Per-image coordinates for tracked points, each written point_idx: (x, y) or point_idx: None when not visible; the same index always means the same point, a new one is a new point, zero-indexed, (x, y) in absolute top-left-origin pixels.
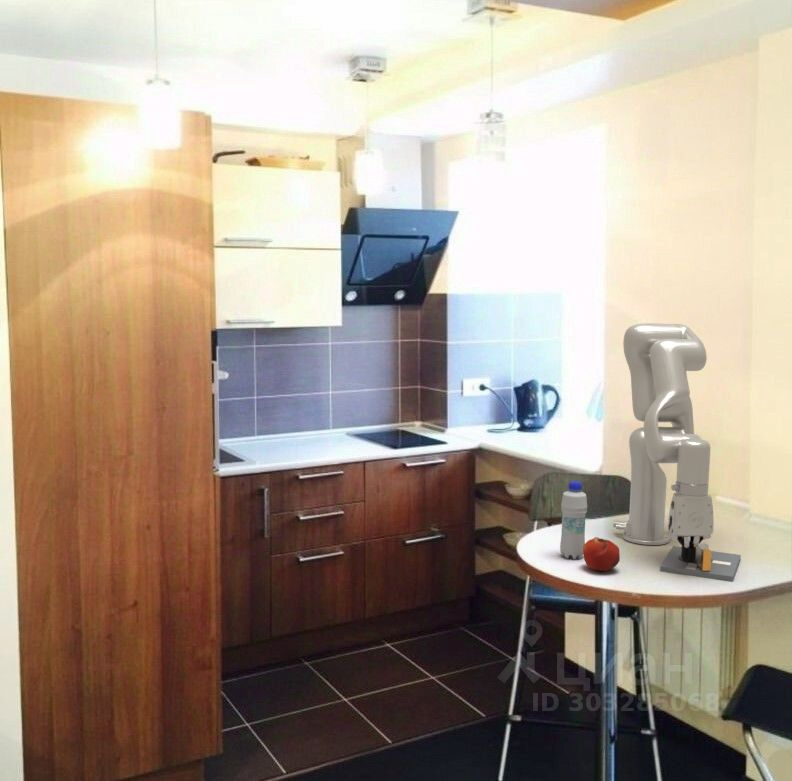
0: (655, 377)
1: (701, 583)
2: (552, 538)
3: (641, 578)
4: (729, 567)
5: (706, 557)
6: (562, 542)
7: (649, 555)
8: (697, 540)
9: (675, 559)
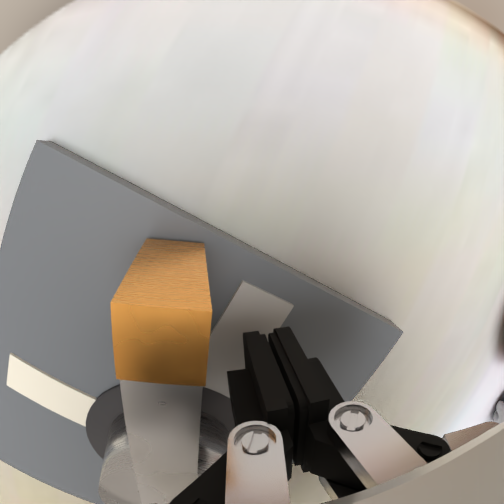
0: None
1: (263, 101)
2: None
3: (491, 213)
4: (15, 324)
5: (174, 279)
6: None
7: None
8: (248, 482)
9: None
